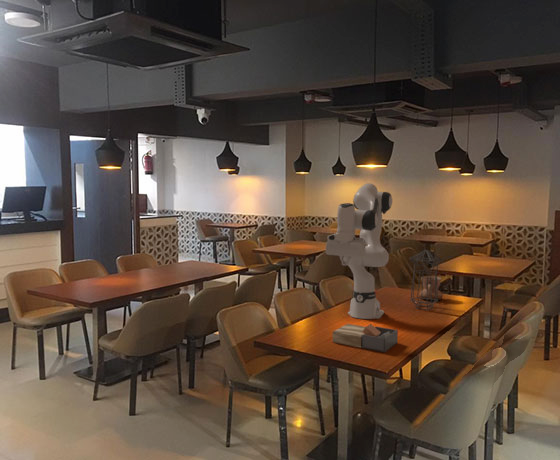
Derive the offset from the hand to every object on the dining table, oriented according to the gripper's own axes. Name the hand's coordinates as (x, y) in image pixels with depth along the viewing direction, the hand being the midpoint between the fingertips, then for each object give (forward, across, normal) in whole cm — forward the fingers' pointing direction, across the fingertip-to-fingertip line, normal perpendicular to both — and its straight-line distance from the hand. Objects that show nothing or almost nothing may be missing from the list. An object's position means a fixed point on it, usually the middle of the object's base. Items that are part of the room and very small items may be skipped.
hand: (345, 265), depth 238 cm
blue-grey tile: (+28, -23, +10) cm, 38 cm away
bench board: (+33, -10, +10) cm, 36 cm away
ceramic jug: (+33, -15, -98) cm, 105 cm away
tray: (+33, -23, +10) cm, 41 cm away
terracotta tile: (+29, -18, +11) cm, 36 cm away
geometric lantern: (+33, -18, -74) cm, 83 cm away
